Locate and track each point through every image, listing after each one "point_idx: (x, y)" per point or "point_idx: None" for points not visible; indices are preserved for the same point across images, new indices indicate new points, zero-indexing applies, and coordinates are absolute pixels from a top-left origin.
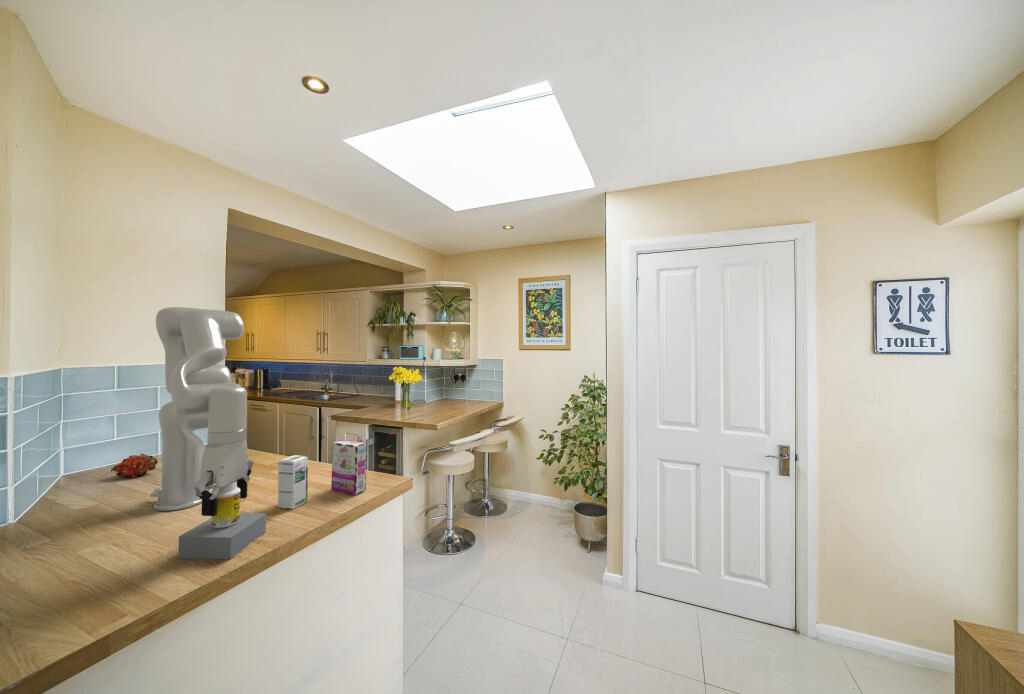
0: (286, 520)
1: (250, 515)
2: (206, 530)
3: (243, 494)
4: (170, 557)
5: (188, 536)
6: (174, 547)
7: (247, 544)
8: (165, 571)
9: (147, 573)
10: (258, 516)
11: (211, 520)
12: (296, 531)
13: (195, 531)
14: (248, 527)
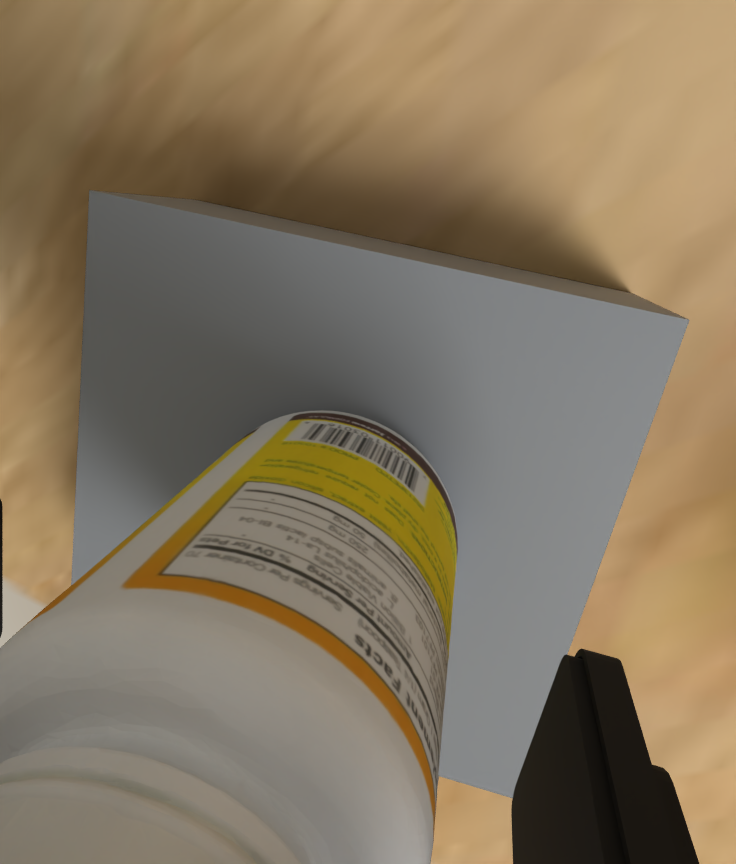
0: (718, 759)
1: (503, 680)
2: (201, 405)
3: (523, 837)
4: (215, 120)
5: (88, 295)
6: (386, 26)
7: None
8: (36, 223)
9: (12, 103)
10: (461, 751)
11: (238, 442)
12: (483, 843)
13: (191, 301)
14: None
